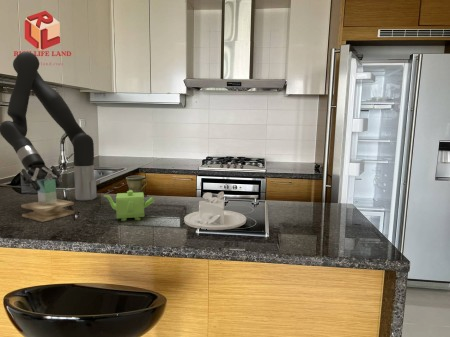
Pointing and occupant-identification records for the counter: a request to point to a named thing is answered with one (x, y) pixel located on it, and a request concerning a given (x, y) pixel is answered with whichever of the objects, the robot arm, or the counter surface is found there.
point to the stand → (47, 210)
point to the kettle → (129, 205)
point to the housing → (47, 191)
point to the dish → (214, 215)
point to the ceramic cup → (136, 183)
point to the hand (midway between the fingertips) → (49, 188)
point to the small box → (28, 186)
